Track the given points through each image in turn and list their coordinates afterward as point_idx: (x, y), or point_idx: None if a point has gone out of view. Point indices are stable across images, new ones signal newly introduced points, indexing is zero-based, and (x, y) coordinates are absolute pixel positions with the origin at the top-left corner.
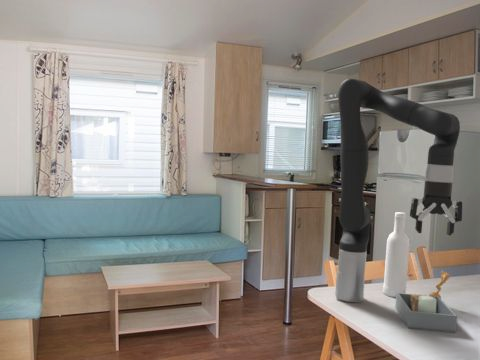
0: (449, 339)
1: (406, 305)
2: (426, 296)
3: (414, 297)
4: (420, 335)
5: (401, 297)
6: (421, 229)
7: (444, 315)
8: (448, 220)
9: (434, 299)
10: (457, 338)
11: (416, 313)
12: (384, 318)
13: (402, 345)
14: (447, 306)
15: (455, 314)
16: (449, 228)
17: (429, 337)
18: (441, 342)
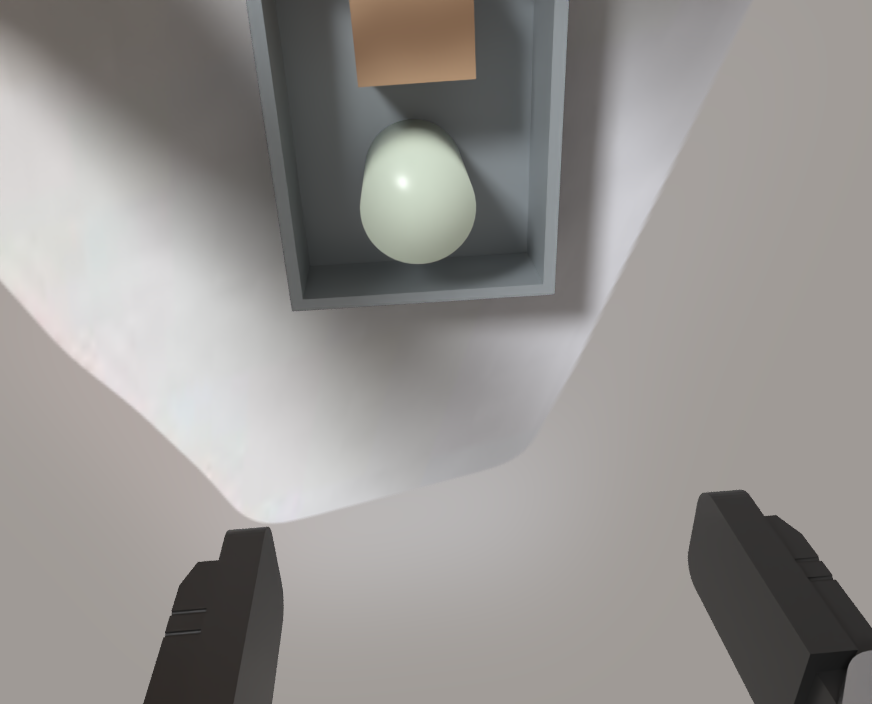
0: (476, 344)
1: (283, 208)
2: (420, 165)
3: (357, 46)
4: (348, 340)
5: (263, 30)
6: (273, 659)
7: (486, 296)
8: (839, 695)
9: (461, 219)
10: (519, 322)
11: (331, 306)
12: (175, 166)
13: (255, 459)
14: (560, 136)
15: (555, 272)
16: (734, 656)
17: (387, 350)
18: (429, 385)
